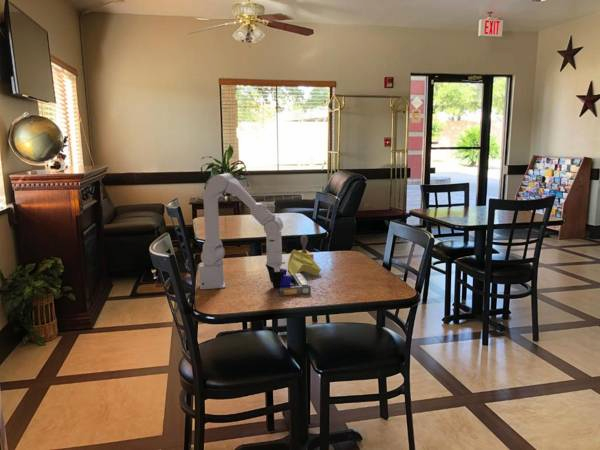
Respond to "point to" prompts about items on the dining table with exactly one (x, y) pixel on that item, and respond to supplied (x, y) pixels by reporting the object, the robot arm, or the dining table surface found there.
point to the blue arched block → (285, 280)
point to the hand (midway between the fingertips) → (275, 285)
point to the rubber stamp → (304, 243)
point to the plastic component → (302, 264)
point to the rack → (296, 286)
